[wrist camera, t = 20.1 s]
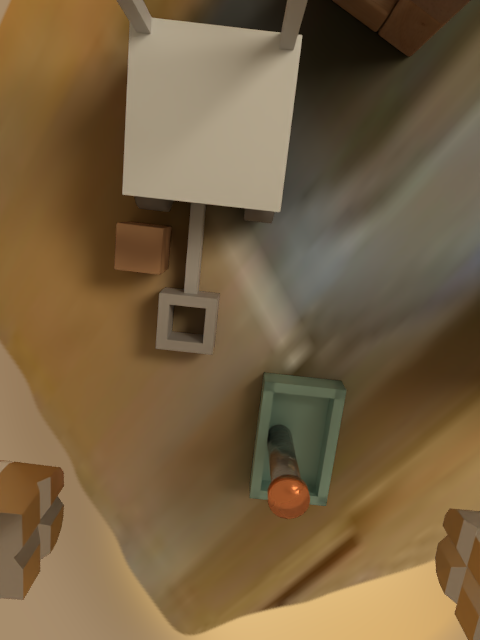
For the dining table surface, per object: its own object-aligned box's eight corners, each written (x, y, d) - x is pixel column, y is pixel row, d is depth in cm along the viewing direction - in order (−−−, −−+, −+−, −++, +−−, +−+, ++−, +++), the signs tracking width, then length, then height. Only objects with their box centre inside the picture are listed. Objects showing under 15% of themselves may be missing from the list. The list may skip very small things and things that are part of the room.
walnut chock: (168, 268, 44) (159, 274, 39) (127, 263, 44) (114, 269, 39) (171, 226, 43) (163, 228, 38) (130, 221, 43) (116, 222, 38)
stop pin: (297, 422, 46) (313, 483, 36) (292, 452, 47) (306, 520, 36) (265, 419, 46) (270, 479, 36) (260, 449, 47) (265, 516, 36)
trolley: (292, 59, 39) (344, -115, 18) (256, 350, 45) (264, 468, 24) (155, 43, 39) (48, -150, 18) (138, 337, 45) (46, 445, 24)
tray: (341, 380, 46) (346, 390, 43) (322, 491, 49) (325, 506, 47) (263, 372, 46) (264, 381, 43) (249, 483, 49) (249, 497, 47)
